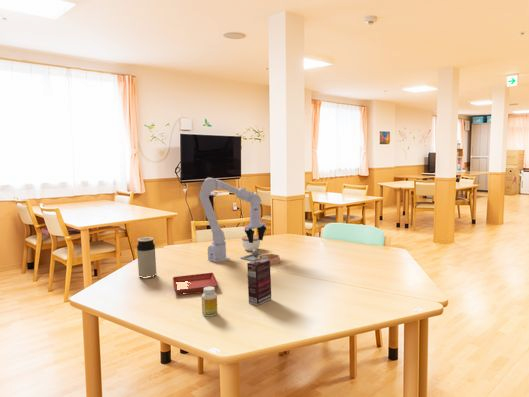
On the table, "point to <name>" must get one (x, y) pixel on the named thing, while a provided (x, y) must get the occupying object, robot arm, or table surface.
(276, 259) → the bowl
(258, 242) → the lidded jar
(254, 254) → the pebble dark
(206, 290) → the supplement bottle
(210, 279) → the plant saucer
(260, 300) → the supplement box
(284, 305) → the table surface
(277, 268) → the table surface
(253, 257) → the tray
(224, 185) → the robot arm
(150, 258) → the travel mug
